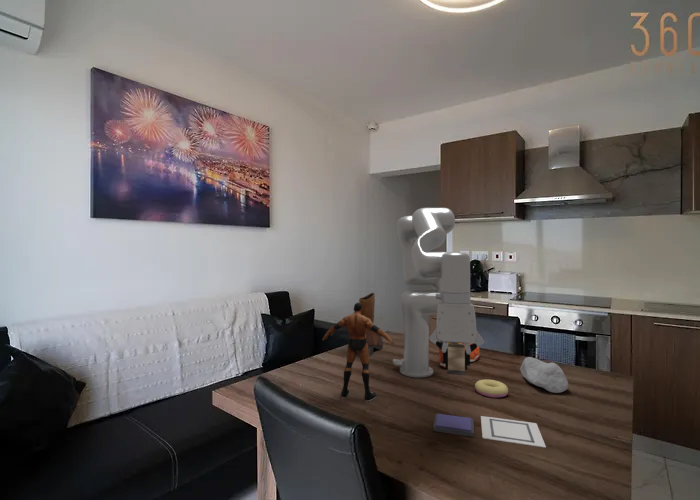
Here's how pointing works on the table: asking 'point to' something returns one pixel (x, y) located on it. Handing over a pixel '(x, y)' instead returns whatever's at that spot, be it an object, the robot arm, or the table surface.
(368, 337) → the boot
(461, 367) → the beige cardboard box
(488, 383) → the donut
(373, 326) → the figurine
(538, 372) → the decorative stone
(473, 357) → the running shoe
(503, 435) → the sheet
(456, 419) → the ink pad
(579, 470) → the table surface
